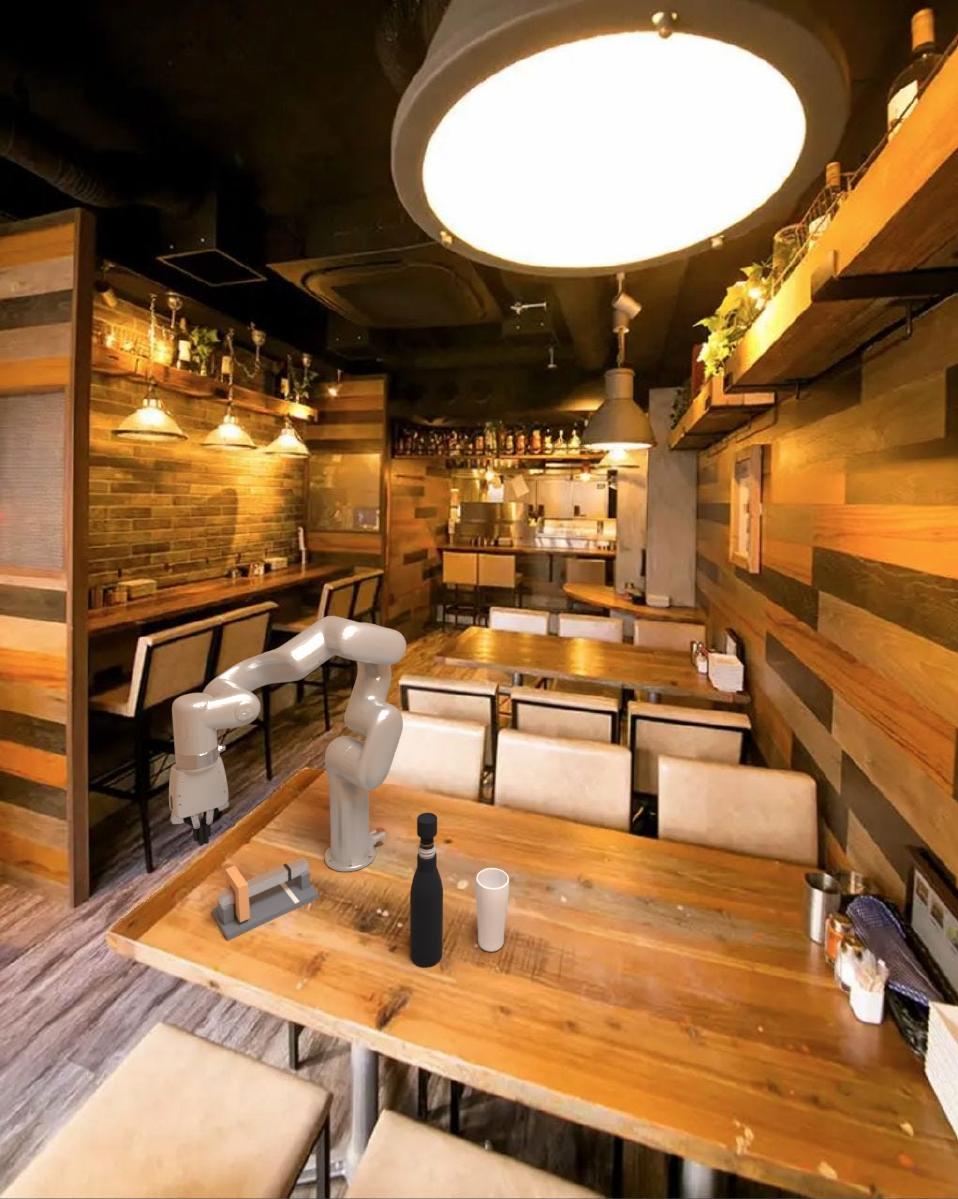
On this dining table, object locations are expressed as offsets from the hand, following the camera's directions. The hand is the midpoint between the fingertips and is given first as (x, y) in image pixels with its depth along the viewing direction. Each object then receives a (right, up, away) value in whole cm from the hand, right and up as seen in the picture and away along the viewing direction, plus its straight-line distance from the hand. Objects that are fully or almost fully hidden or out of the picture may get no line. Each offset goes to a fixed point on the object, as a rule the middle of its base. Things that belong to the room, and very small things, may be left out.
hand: (202, 841), depth 116 cm
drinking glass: (+58, -22, +2) cm, 62 cm away
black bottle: (+45, -22, -1) cm, 51 cm away
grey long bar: (+9, -15, +11) cm, 20 cm away
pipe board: (+9, -19, +12) cm, 24 cm away
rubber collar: (+4, -18, +7) cm, 20 cm away
